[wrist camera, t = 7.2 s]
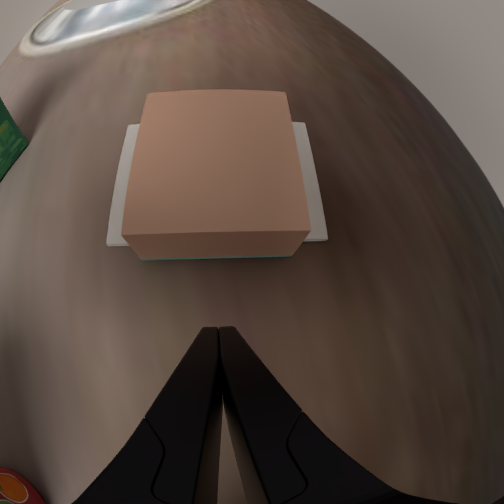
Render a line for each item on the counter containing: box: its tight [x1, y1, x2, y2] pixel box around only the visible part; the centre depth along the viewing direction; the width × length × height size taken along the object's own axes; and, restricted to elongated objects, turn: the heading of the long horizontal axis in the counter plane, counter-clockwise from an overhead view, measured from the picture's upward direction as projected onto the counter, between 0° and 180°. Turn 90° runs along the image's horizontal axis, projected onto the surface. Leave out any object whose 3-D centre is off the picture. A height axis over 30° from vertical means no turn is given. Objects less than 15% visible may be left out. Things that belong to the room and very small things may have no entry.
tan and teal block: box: [121, 89, 311, 260], centre depth 17 cm, size 4×9×10 cm
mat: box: [106, 122, 328, 246], centre depth 19 cm, size 10×14×1 cm
